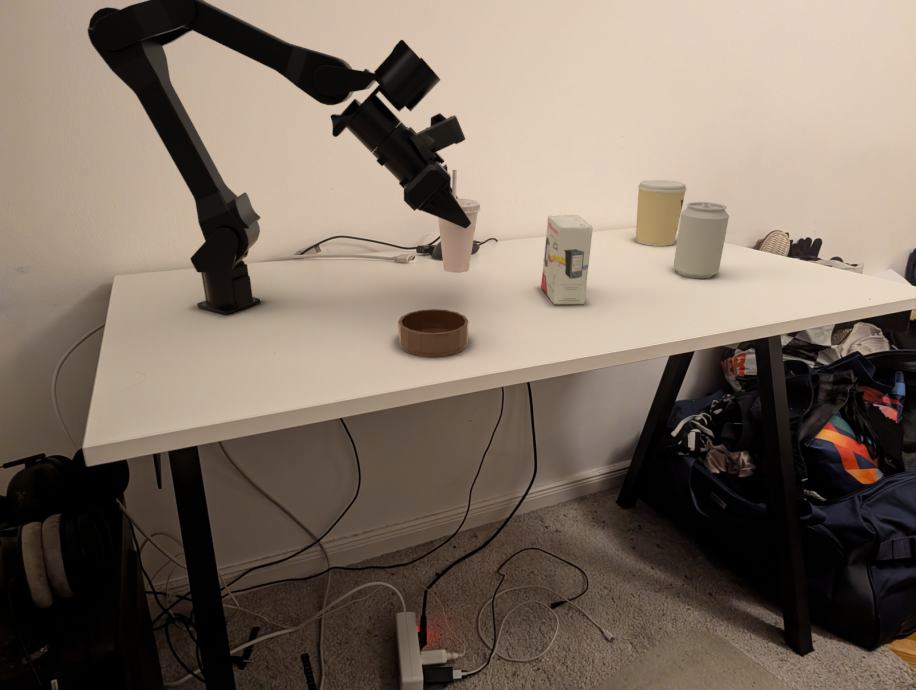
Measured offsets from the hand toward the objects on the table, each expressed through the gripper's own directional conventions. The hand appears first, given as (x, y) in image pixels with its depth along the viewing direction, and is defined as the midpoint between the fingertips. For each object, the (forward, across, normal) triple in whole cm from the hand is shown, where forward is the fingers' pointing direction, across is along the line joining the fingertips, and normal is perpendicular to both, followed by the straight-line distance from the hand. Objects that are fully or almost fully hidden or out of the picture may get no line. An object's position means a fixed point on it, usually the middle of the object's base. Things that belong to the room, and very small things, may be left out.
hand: (466, 220), depth 86 cm
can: (+38, +14, -21) cm, 45 cm away
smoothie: (+4, 0, +6) cm, 7 cm away
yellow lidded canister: (+39, +37, -22) cm, 58 cm away
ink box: (+20, +2, -2) cm, 20 cm away
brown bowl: (+5, -15, +12) cm, 20 cm away
